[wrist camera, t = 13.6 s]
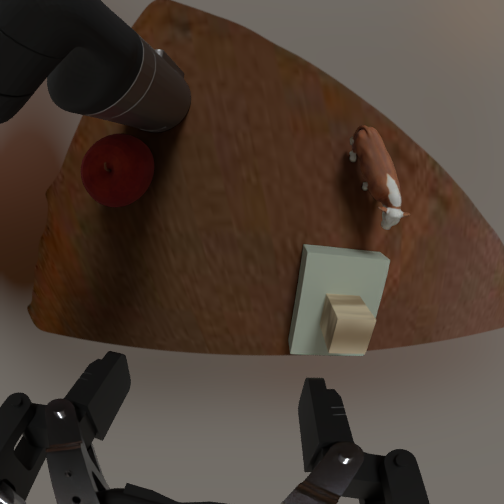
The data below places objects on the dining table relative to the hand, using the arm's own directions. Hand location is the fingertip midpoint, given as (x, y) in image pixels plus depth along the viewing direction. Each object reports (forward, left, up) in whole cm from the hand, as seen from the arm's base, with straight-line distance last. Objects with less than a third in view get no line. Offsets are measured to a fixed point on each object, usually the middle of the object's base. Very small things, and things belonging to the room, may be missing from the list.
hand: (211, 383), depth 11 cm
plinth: (+9, +14, -30) cm, 34 cm away
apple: (-8, -17, -30) cm, 36 cm away
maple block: (+9, +14, -26) cm, 31 cm away
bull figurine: (-10, +16, -30) cm, 36 cm away
